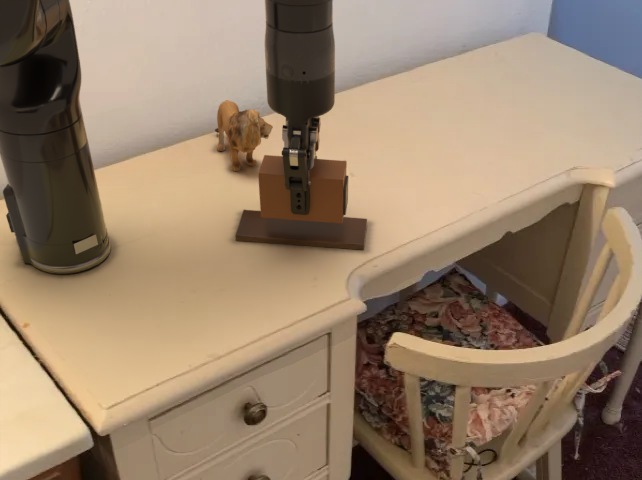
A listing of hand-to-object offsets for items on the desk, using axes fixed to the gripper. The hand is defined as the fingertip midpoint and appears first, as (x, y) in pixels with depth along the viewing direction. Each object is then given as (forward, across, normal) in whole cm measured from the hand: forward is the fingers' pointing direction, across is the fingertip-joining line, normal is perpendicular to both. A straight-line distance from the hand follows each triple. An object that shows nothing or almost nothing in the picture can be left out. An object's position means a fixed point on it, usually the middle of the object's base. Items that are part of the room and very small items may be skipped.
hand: (303, 201), depth 102 cm
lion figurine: (+5, +18, +11) cm, 22 cm away
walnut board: (+5, 0, 0) cm, 5 cm away
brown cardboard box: (+1, 0, 0) cm, 1 cm away
